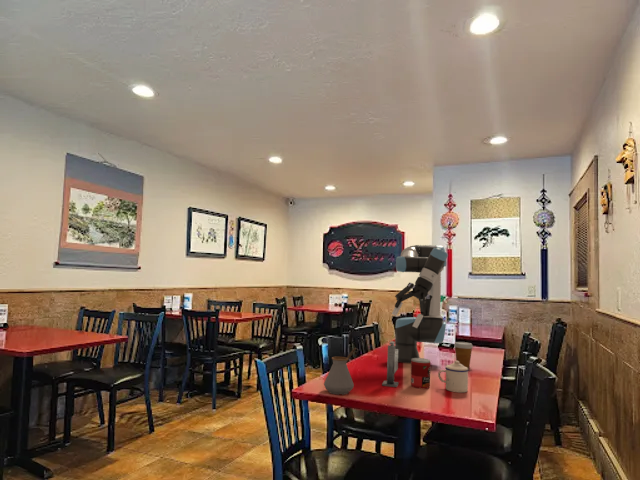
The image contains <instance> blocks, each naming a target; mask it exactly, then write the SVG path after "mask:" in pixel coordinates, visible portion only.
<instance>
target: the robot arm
mask: <svg viewBox="0 0 640 480" xmlns="http://www.w3.org/2000/svg"><path fill="white" fill-rule="evenodd" d="M448 257H449V254H448V253H447V252H446V250H445V247H444V246H443V245H437V244H436V245H432V244H429V245H428V244H427V245H426V244H425V245H424V244H423V245H421V244H415V245H414V244H413V245H410V246H408V247H405V248H404V249H402V251H401V253H400V256H396V260H395V270H396V272H398V273H419V275H418V276H417V279H416V280H415V282H414V283H412V282H408V284H407V285H406V286H405V287H404V288H403V289H402V290H400V291H399V292H397V293H396V294H395V296H394V297H395V298H396V302H395V304H394V309H393V310H392V312H391V314H392V315H393V316H395V317H397V315H398V314H399V311H400V310H401V308H402V306H403V304H404V301H406V300H408V299H410V298H412V297H414V298H416V299H417V300H418V301H419V310H420V311H419V312H420V313H418V314H417V316H416V317H415V316H414V317H413V316H412V317H411V316H410V317H401V318H397V319H396V321H395V334H394V335H395V336H394V337H395V341H394V342H395V344H394V346H395V349H398V363H403V364H404V363H406V364H411V359H412V358H421V357H420V354H419V350H418V344H417V343H428V344H442V343H443V342H444V340H445V334H446V330H447V329H446V327H447V322H446V321H444V318H443V316H441V287H442V285H441V284H442V283H441V280H442V279H441V278H442V277H441V276H442V271H444V267H447V258H448Z"/></svg>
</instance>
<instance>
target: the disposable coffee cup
mask: <svg viewBox="0 0 640 480" xmlns="http://www.w3.org/2000/svg"><path fill="white" fill-rule="evenodd" d="M453 346H454V351H455V352H454V353H455V359H456V360H455V361H459V364H462V365H463V366H465V367H467V368H470V364H471V358H472V351H473V347H474V346H473V344H472V343H471V342H465V341H455V342H454V345H453Z"/></svg>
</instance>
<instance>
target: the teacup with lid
mask: <svg viewBox="0 0 640 480" xmlns="http://www.w3.org/2000/svg"><path fill="white" fill-rule="evenodd" d="M441 373H445V380H444V379H443V378H442V377H441ZM468 374H469V367H465V366H463V365H462V364H459V361H456V360H454V362H453V363H451V364H448V365H446V366H445V369H441V370H439V371H438V375H437V376H438V379H439V381H441V383H445V390H446V391H449V392H454V393H459V394H462V393H467V392H468V389H469V385H468V384H469V381H468V380H469V375H468Z"/></svg>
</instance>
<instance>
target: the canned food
mask: <svg viewBox="0 0 640 480" xmlns="http://www.w3.org/2000/svg"><path fill="white" fill-rule="evenodd" d="M410 384H411V387H412V388H416V389H419V390H420V389H423V390H425V389H426V390H427V389H429V388H430V387H431V360H430V359H428V358H423V357H422V358H421V357H420V358H412V359H411V363H410Z"/></svg>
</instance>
